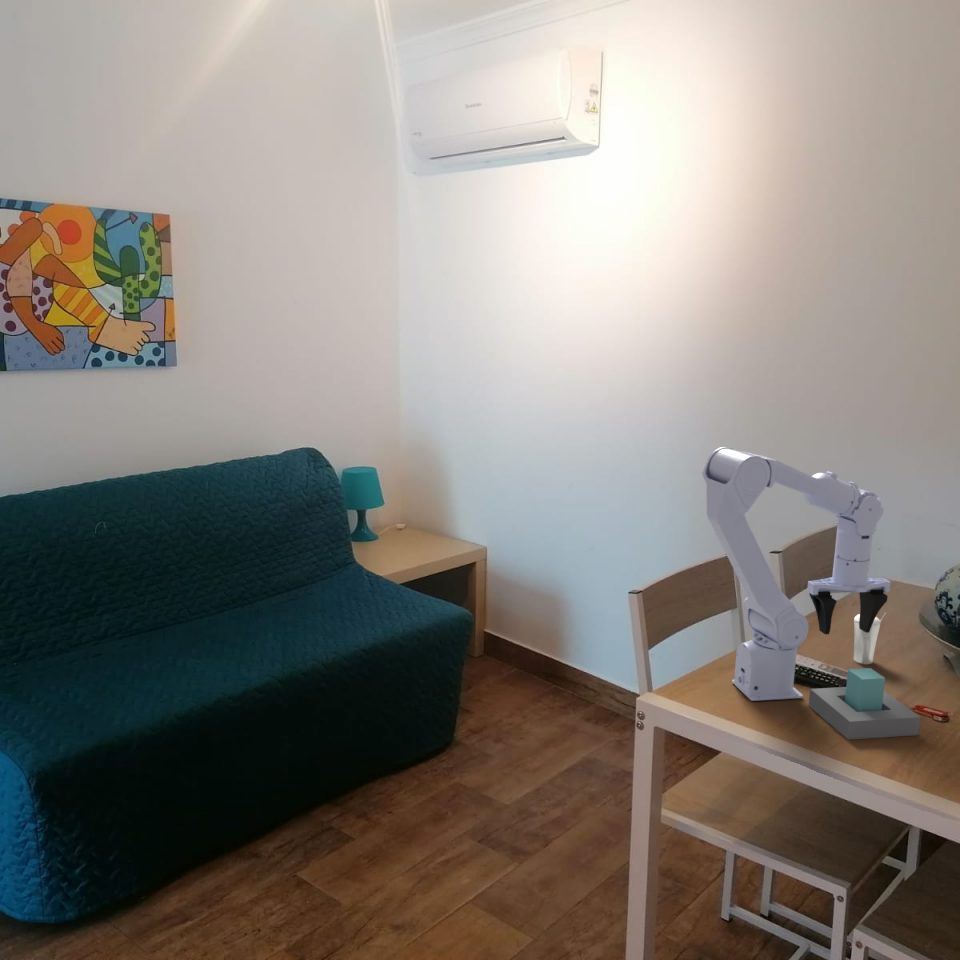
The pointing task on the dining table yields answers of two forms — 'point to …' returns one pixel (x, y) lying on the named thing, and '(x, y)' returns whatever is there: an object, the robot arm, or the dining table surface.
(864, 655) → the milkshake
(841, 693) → the socket block
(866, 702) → the peg
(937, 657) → the dining table surface
